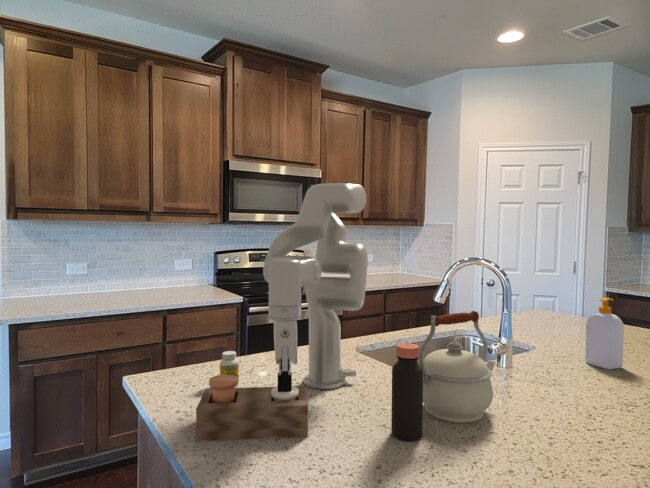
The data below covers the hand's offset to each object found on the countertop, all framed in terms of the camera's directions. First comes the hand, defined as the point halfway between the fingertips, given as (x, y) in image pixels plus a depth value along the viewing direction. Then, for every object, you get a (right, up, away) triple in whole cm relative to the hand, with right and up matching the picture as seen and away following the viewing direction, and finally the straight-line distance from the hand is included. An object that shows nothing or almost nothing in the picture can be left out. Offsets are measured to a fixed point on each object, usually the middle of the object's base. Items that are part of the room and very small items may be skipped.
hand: (284, 390), depth 101 cm
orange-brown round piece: (-14, -3, -1) cm, 14 cm away
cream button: (0, -6, 0) cm, 6 cm away
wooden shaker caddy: (-7, -8, 0) cm, 11 cm away
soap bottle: (+105, -8, +48) cm, 116 cm away
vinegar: (+28, -9, -4) cm, 29 cm away
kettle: (+43, -9, +10) cm, 45 cm away
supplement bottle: (-19, -8, +27) cm, 33 cm away
